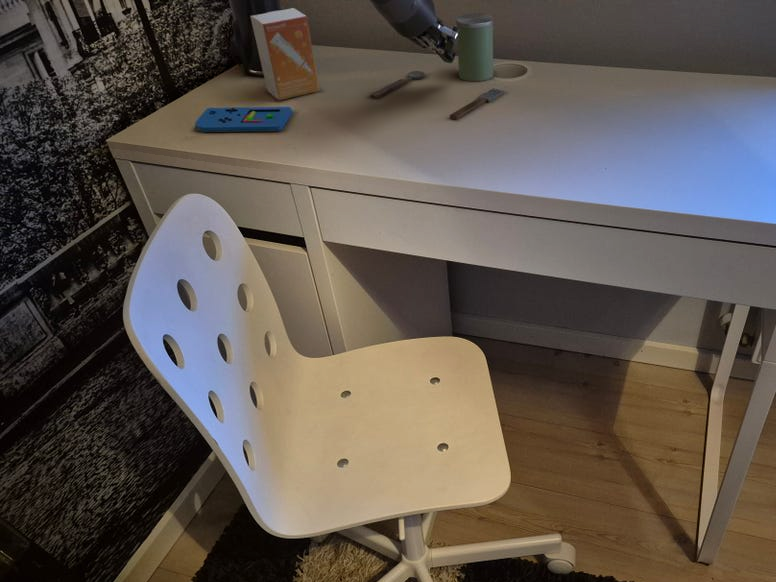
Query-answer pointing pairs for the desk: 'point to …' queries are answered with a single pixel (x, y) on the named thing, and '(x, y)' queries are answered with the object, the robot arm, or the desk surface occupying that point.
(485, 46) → the can
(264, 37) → the small box
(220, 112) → the handheld gaming device
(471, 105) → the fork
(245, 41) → the robot arm
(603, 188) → the desk surface
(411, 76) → the spoon
